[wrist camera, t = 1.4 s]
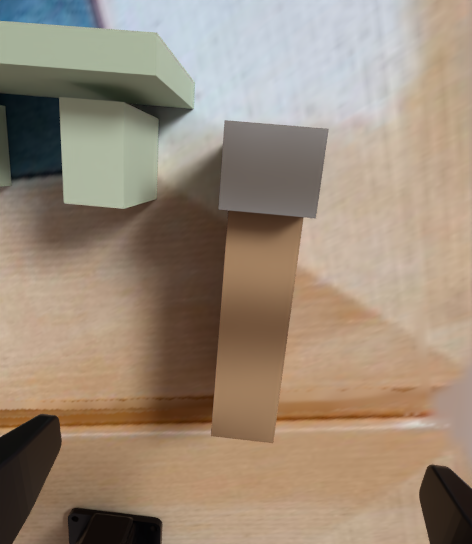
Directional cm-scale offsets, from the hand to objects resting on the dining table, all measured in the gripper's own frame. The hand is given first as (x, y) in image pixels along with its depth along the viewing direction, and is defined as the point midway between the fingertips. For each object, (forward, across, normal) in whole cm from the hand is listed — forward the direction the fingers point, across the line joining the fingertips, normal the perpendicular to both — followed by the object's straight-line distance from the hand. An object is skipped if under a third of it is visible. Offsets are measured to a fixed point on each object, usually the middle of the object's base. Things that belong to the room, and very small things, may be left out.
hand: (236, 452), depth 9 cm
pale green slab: (+13, +11, -6) cm, 18 cm away
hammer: (+13, 0, 0) cm, 13 cm away
